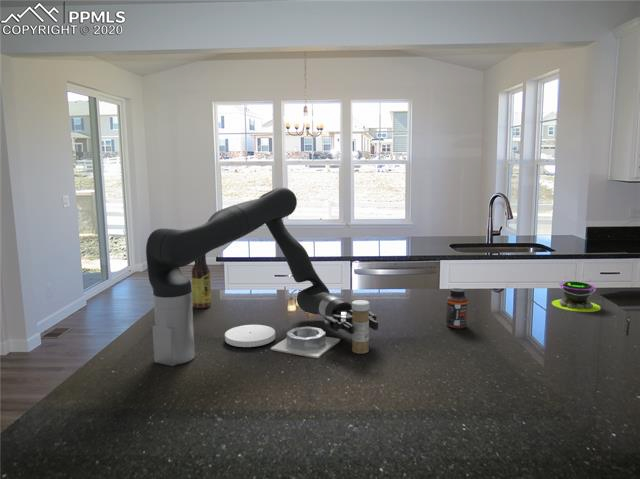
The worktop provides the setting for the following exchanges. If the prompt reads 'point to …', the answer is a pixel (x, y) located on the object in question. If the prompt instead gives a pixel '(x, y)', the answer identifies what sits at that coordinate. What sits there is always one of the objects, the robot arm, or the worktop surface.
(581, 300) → the toy cauldron
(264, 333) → the plastic lid
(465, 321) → the supplement bottle
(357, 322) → the sprinkles bottle
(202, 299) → the sauce bottle
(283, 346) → the base plate
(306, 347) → the ring
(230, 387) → the worktop surface
